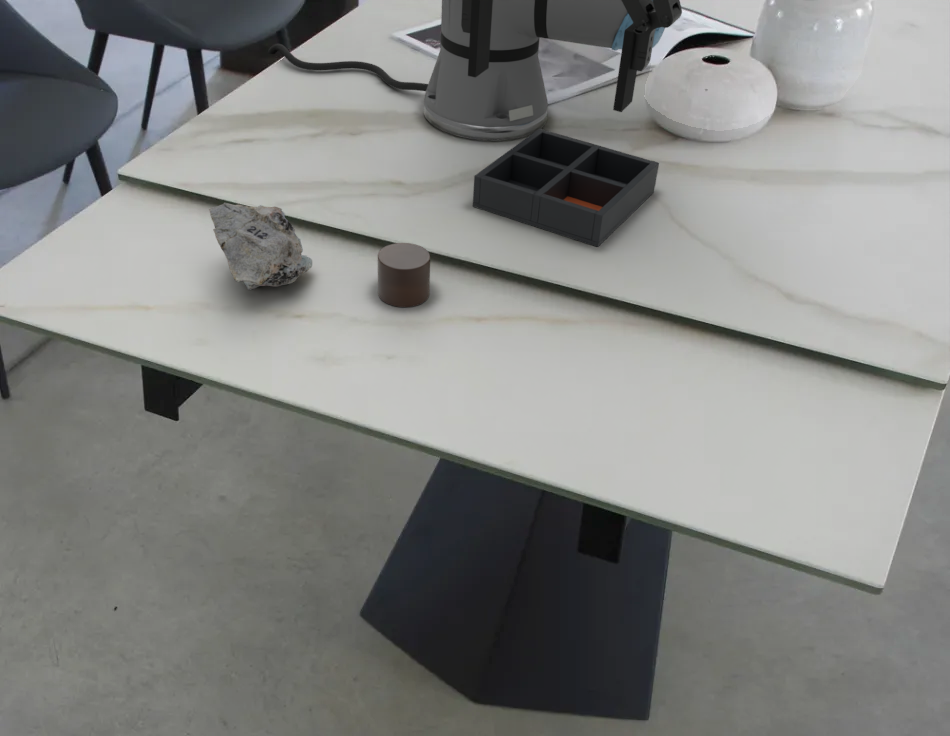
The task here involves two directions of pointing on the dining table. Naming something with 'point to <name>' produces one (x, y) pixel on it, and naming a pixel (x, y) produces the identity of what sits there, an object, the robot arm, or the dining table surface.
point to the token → (403, 274)
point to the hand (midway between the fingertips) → (548, 89)
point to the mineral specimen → (259, 245)
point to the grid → (565, 186)
